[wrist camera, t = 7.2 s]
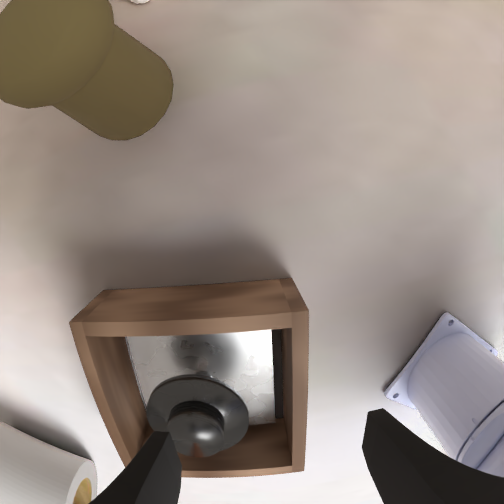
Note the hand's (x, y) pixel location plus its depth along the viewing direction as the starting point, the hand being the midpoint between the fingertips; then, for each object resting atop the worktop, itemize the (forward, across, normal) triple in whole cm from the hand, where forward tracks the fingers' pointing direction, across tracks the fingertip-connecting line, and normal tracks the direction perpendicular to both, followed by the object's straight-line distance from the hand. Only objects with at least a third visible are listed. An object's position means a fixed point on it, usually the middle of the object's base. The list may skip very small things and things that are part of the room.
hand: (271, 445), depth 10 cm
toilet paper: (+10, +22, +14) cm, 28 cm away
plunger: (+10, +4, +3) cm, 11 cm away
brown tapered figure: (+10, +7, -15) cm, 20 cm away
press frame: (+10, +4, +3) cm, 11 cm away
